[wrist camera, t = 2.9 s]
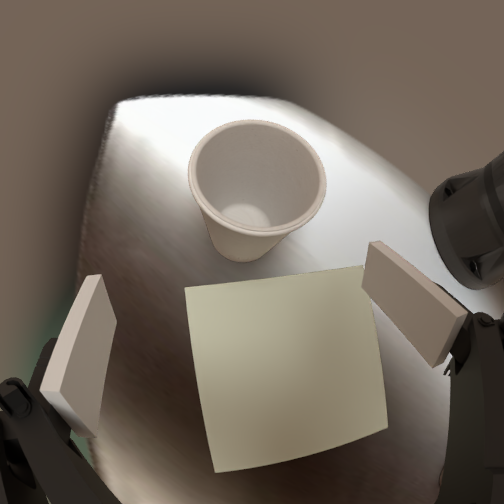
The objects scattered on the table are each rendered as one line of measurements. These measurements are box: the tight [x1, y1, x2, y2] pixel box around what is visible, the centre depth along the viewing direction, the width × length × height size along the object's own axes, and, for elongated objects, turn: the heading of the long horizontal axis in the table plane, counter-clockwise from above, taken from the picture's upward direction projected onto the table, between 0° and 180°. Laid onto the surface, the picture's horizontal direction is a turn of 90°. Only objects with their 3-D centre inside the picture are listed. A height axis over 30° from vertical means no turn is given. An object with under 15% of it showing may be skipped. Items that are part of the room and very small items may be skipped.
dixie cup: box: [188, 120, 326, 262], centre depth 21 cm, size 8×8×10 cm
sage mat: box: [185, 265, 388, 473], centre depth 22 cm, size 16×16×1 cm
